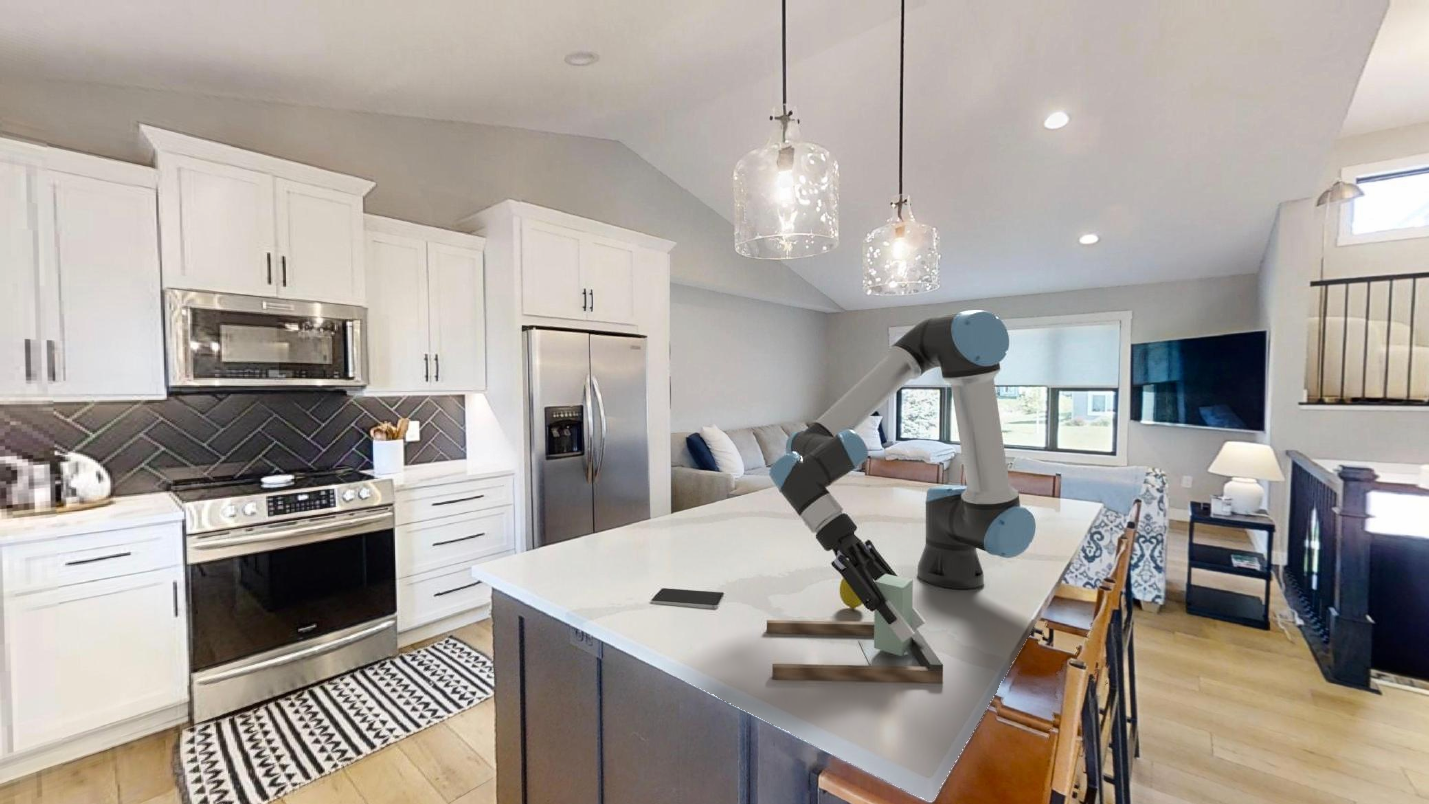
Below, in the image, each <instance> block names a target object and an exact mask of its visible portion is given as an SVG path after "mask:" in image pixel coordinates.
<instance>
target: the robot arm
mask: <svg viewBox="0 0 1429 804" xmlns="http://www.w3.org/2000/svg"><path fill="white" fill-rule="evenodd" d="M1009 347H1010V336H1009V332H1008V329H1007V327H1006V325H1005V324H1004V322H1003V321H1002V319H1000V317H997V316H996V315H995V314H994V313H992V312H990V311H987V310H965V311H961V312H956V313H950V314H944V315H943V314H942V315H936V316H932V317H929V318H927V319H924V320H923V321H921V322H919V323H917V324H916V325H915V326H914V327H913V328H911V329H910V330H909V331H907V332H906V333H905V334H904V335H903V336H901V337H900V338H899V339H898V340H897V341H896V342H895V343H894V344H892V346H890V347H889V348H888V350H887V352H886V355H887V356H885V358H883V359H882V360H881V361H880V362H879V363H877V364H876V366H875V367H874V368H872V370H870V371H869V372H868V373H867V374H866V375H865V376H864V377H863V378H862V379H860V380H858V382H857V383H856V384H855V385H853V387H852V388H851V389H850V390H848V391H847V392H846V393H845V394H844V395H842V396H841V398H839V399H838V400H837V401H836V402H835V403H834V404H833V405H832V406H831V407H830V408H829V409H828V410H826V411H825V412H824V413H823V414H822V415H821V416H820V417H818V419H817V420H815V421H814V422H813V423H812V424H810V425H809V426H808V427H807V428H806V429H805V430H801V431H796V432H793V433H791V434H790V436H789V437H788V438H787V439H786V443H785V452H786V453H785V454H784V455H782V456H781V457H780V458H778V459H777V460H776V461H775V462H774V463H773V464H772V466H770V468H769V477H770V479H771V480H772V481H773V483H774V485H775V486H776V488H777V489H778V491H779V493H781V494H782V496H783V497H784V498H785V500H786V501H787V502H788V503H789V504H790V506H791V507H792V509H794V511H795V512H796V514H797V515H798V516H799V517H800V518H801V520H802V522H803V523H804V526H806V527H807V528H808V529H809V531H810V532H811V533H812V534H815V539H816V540H817V541H818V543H819V544H820V546H821V547H822V548H823V549H824V551H826V552H830V551H832V552H833V554H834V556H835V559H834V560H833V561H831V563H830V564H831V566H832V567H833V568H834V569H835V570H836V571H837V572H838V573H839V574H840V575H841V576H842V579H843V578H844V579H845V581H846V582H847V583H848V585H849V586H850V587H851V589H852V590H853V591H854V593H855V594H856V595H857V597H858V598H859V599H860V601H861V602H862V603H863V604H862V605H863V607H864V608H866V609H867V610H869V611H870V612H872V613H873V612H874V610H876V609H877V610H878V611H879V613H880V614H881V615H882V617H883V618H884V619H885V621H886V622H887V623H888V624H889V626H890V627H891V628H892V630H893V631H894V632H895V634H896V635H897V636H898V638H899V639H900V640H901V641H902V642H904V641H905V640H907V639H908V638H910V637H911V636H912V635H914V634H915V632H914V630H916V629H917V630H918V628H920V627H922V626H923V625H925V623H926V622H927V621H926V620H925V619H924V617H923V616H922V615H921V614H920V612H919V610H917V609H916V607H915V606H914V605H913V604H912V628H911V627H910V626H909V625H908V623H907V622H906V621H905V619H904V618H903V617H902V616H901V614H900V613H899V612H898V611H897V609H896V608H895V607H894V605H893V604H892V603H891V602H890V600H888V601H887V602H886V600H885V598H884V597H883V595H882V593H881V592H880V590H879V588H878V587H877V585H876V584H875V581H876V580H878V579H879V578H880V577H882V576H883V575H885V574H889V575H893V576H898V575H897V573H896V572H895V570H893V568H892V567H891V566H890V565H889V564H888V562H887V561H886V560H885V559H884V558H883V556H882V555H881V553H879V552H878V550H877V549H876V547H875V546H874V543H873V542H872V541H871V540H870V539H867V540H866V541H865V542H864V541H862V540H861V539H860V538H859V536H857V535H856V534H855V532H856V531H857V530H858V526H857V525H856V523H855V522H854V521H853V520H852V518H851V516H849V514H847V513H846V512H844V509H843V507H842V506H841V505H840V503H839V502H838V501H837V500H836V499H835V497H834V495H832V493H831V492H830V491H829V490H828V487H829V486H831V485H832V484H834V483H835V482H837V481H838V480H840V479H841V478H843V477H844V476H846V475H848V474H849V473H850V472H852V471H853V470H856V469H857V468H858V467H859V466H860V465H861V464H862V463H864V462H865V461H866V460H867V459H868V457H869V450H868V447H867V445H866V443H865V441H864V440H863V438H862V437H861V436H860V435H859V434H858V433H857V432H855V430H857V429H858V428H859V427H860V426H861V425H862V424H863V423H865V422H866V420H868V419H869V418H870V417H871V416H872V415H873V414H874V413H875V412H877V410H879V409H880V408H881V406H883V405H884V404H885V403H886V402H887V401H888V400H890V399H891V398H892V396H894V395H895V394H896V393H897V392H898V391H899V390H900V389H901V388H903V386H905V384H907V383H908V382H909V381H910V380H917V379H919V378H920V377H921V376H922V375H923V374H924V373H926V372H927V371H929V370H932V369H936V368H938V367H940V371H941V377H942V379H943V380H944V381H946V382H947V383H949V384H950V386H951V392H952V393H951V394H952V399H953V405H954V413H955V418H956V424H957V431H958V432H957V433H958V439H959V445H960V450H961V457H962V463H963V470H964V476H965V482H966V483H965V484H966V485H956V484H955V485H937V486H934V485H933V486H931V487H928V489H927V490H926V497H925V502H924V503H925V544H924V548H923V550H922V553H921V556H920V558H919V561H918V564H917V576H918V578H919V579H920V580H922V581H923V582H926V583H928V584H930V585H934V586H938V587H942V588H946V589H947V588H948V589H956V590H971V589H976V588H980V587H981V586H983V585H984V581H985V580H984V577H985V575H984V571H983V568H982V564H981V561H980V558H979V554H978V551H977V550H978V549H979V550H981V551H984V552H987V554H989V555H991V556H997V557H1001V558H1005V559H1011V558H1015V557H1018V556H1020V555H1021V554H1023V553H1024V552H1025V551H1027V549H1028V548H1029V546H1030V544H1031V543H1032V542H1033V540H1034V537H1035V533H1036V529H1037V528H1036V527H1037V524H1036V518H1035V516H1034V514H1033V513H1032V512H1031V511H1030V510H1029V509H1027V507H1025V506H1024V507H1023V505H1021V500H1020V494H1019V491H1018V489H1016V488H1015V487H1014V486H1012V485H1011V484H1010V479H1009V473H1008V472H1009V471H1008V465H1007V459H1006V452H1005V446H1004V445H1005V444H1004V438H1003V431H1002V425H1001V418H1000V412H999V405H998V399H997V397H998V396H997V391H996V385H995V377H996V376H997V375H998V374H999V373H1000V371H1001V364H1000V362H1002V361H1003V360H1004V358H1005V357H1006V355H1007V352H1008V351H1009ZM843 512H844V513H843ZM885 602H886V603H885ZM912 629H913V630H912Z"/></svg>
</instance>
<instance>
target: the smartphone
mask: <svg viewBox="0 0 1429 804" xmlns="http://www.w3.org/2000/svg"><path fill="white" fill-rule="evenodd" d="M724 597H725V593H724V592H723V591H711V590H710V591H708V590H695V589H680V588H665V587H663V588H662V587H661V588H660V589H659V590H658V591H657V593H655V595H654V596H653V597H652V598H651V600H650V602H651V604H654V605H656V604H657V605H658V604H659V605H665V606H666V605H667V606H669V605H670V606H679V607H688V608H689V607H690V608H699V609H710V610H711V609H712V610H716V609H719V607H720V605H721V603H722V601H723V600H724Z"/></svg>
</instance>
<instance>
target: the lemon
mask: <svg viewBox="0 0 1429 804" xmlns="http://www.w3.org/2000/svg"><path fill="white" fill-rule="evenodd" d="M839 596H840V598H841V599H840V600H841V601H842V602H843V603H844V604H845V605H846V607H848V608H849V609H851V610H855V609H856V608H858V607H861V606H862V605H863V603H862V602H861V601H860V599H859V598H858V597H857V595H856V594H855V593H854V591H853V590H852V589H851V587H850V586H849V585H848V583H847V582H846V581H845V579H844V578H843V577H842V579H841V581H840V584H839Z"/></svg>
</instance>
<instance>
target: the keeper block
mask: <svg viewBox="0 0 1429 804" xmlns="http://www.w3.org/2000/svg"><path fill="white" fill-rule="evenodd" d="M874 582H875V584H876V585H877V587H878V588H879V590H880V592H881V593H882V595H883V597H884V598H885V600H886V602H887V601H888V600H890V602H891V603H892V604H893V605H894V607H895V608H896V609H897V611H898V612H899V613H900V614H901V616H902V617H903V618H904V619H905V621H906V622H907V623H908V625H909V626H910V627H911V628H912V605H913V595H914V594H913V589H914V588H913V586H914V583H913V582H914V580H913V579H912V578H911V579H910V578H906V577H901V576H898V575H897V576H893V575H889V574H885V575H883V576H882V577H880V578H879V579H878V580H876V581H874ZM886 602H885V603H886ZM873 612H874V617H873V619H874V621H873V622H874V635H873V641H874V648H876V649H879V650H882V651H886V652H889V653H892V654H896V655H899V656H903V655H904V654H905V652H906V651H907V650H908V649H909V648H910V647H911V646H912V636H911V637H910V638H908V639H907V640H905V641H904V642H902V641H901V640H900V639H899V638H898V636H897V635H896V634H895V632H894V631H893V630H892V628H891V627H890V626H889V624H888V623H887V622H886V621H885V619H884V618H883V617H882V615H881V614H880V613H879V611H878V610H877V609H876V610H874V611H873Z"/></svg>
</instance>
